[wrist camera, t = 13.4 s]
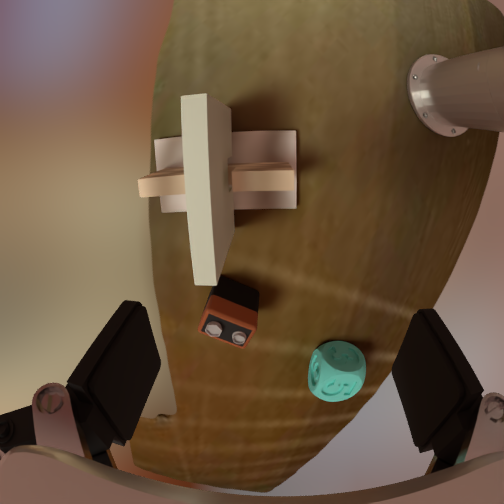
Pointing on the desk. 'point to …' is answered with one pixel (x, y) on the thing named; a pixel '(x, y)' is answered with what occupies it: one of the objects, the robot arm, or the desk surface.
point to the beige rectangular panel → (207, 183)
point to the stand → (232, 172)
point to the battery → (230, 313)
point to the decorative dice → (336, 371)
